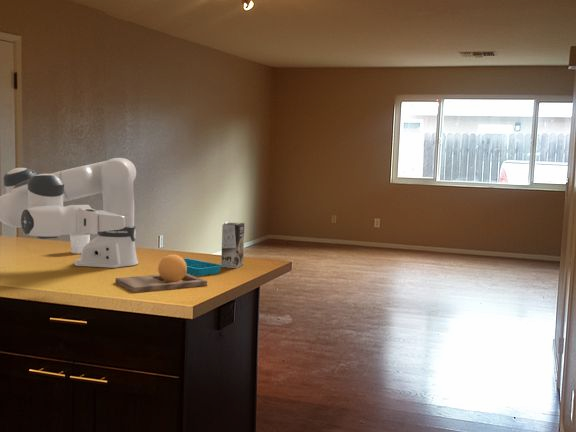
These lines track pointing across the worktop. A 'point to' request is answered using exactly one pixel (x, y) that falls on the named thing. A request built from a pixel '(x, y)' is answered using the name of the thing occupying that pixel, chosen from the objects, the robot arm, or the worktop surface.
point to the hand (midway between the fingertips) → (128, 218)
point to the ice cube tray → (201, 267)
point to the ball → (172, 268)
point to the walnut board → (157, 283)
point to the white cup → (79, 243)
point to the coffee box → (232, 245)
